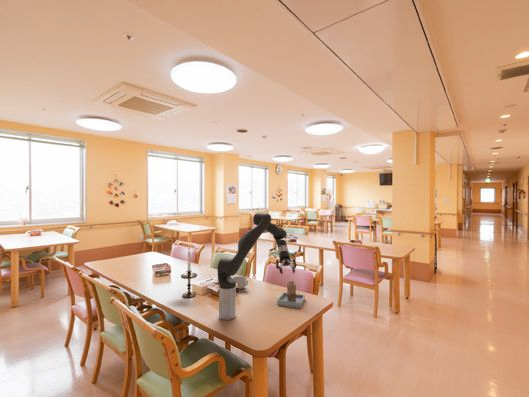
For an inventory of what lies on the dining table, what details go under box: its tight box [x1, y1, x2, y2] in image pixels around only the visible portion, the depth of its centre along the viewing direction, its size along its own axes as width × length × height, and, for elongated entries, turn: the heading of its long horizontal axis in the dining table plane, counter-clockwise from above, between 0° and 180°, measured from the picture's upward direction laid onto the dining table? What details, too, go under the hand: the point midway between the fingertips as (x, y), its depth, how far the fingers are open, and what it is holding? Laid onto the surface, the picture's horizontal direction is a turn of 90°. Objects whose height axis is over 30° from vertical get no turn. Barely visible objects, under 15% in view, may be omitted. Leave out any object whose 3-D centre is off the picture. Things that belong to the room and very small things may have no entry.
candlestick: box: [180, 246, 198, 299], centre depth 184 cm, size 11×11×35 cm
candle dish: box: [276, 291, 306, 309], centre depth 173 cm, size 15×15×3 cm
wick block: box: [286, 280, 297, 302], centre depth 173 cm, size 4×4×13 cm
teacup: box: [231, 275, 249, 290], centre depth 198 cm, size 14×11×8 cm
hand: (287, 273), depth 182 cm, fingers open, 8 cm apart
